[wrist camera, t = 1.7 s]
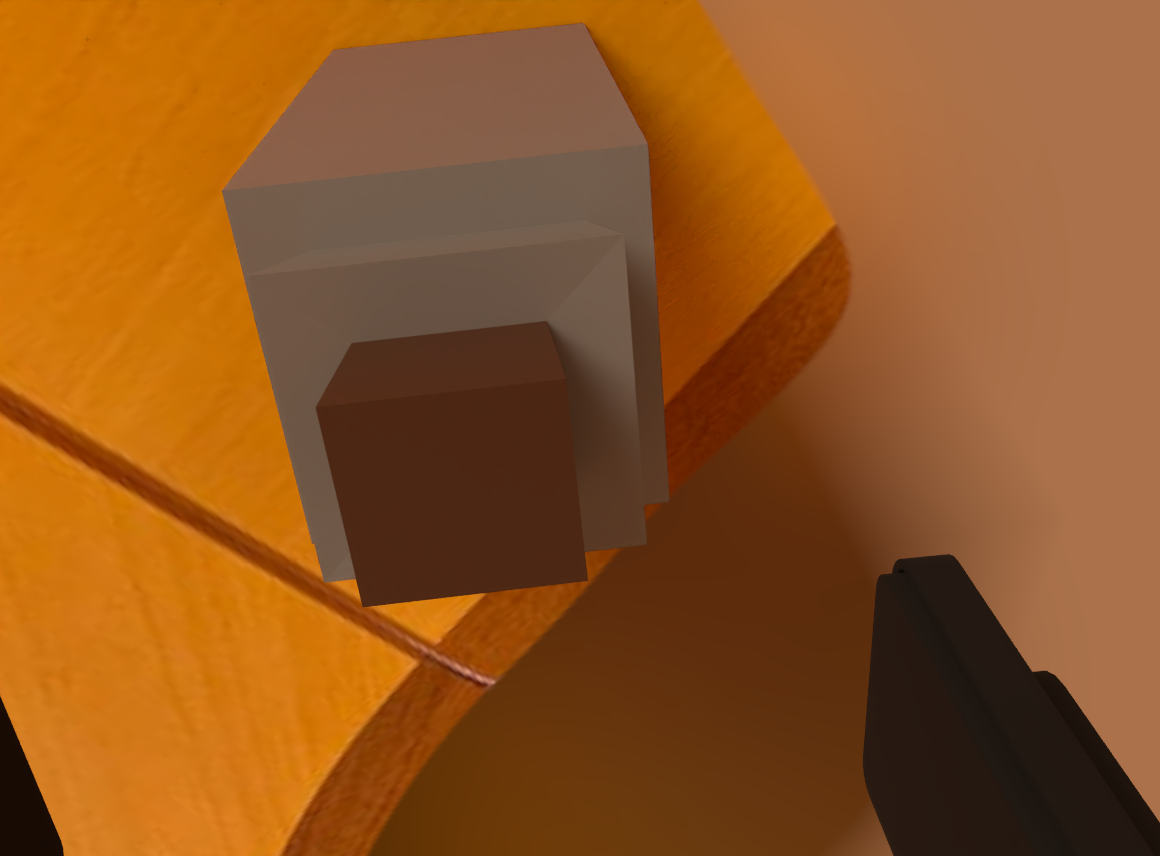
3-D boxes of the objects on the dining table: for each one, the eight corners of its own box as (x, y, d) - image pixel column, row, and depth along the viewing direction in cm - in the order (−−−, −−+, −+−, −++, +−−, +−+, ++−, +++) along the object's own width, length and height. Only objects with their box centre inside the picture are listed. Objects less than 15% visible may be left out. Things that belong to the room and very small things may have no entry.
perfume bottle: (333, 49, 29) (138, 295, 13) (583, 23, 29) (695, 233, 13) (378, 285, 32) (268, 713, 16) (604, 260, 32) (713, 660, 16)
